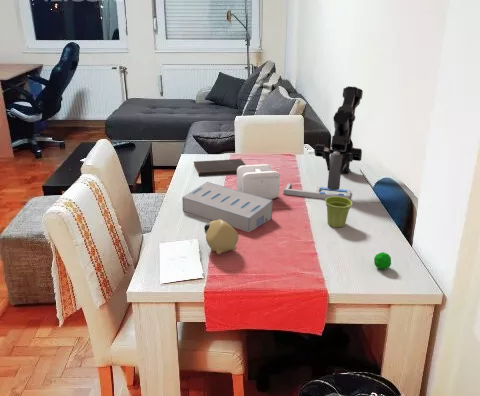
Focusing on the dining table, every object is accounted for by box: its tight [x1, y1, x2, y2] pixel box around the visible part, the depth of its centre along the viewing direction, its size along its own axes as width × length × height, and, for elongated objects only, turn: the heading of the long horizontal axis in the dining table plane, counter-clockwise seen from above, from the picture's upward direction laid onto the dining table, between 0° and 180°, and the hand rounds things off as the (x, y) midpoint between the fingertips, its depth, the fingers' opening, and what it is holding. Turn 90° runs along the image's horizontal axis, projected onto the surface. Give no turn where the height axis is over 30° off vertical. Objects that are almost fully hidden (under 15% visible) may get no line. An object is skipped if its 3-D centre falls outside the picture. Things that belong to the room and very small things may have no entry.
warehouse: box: [181, 181, 274, 233], centre depth 181 cm, size 30×14×8 cm, turn 54°
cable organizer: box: [236, 163, 281, 200], centre depth 198 cm, size 15×11×12 cm
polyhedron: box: [373, 251, 392, 270], centre depth 148 cm, size 5×5×5 cm
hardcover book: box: [193, 158, 246, 177], centre depth 230 cm, size 16×23×2 cm
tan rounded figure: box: [204, 219, 239, 255], centre depth 155 cm, size 10×12×11 cm
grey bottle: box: [326, 151, 343, 191], centre depth 200 cm, size 5×5×15 cm
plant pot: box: [324, 197, 353, 228], centre depth 175 cm, size 9×9×9 cm
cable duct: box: [283, 182, 351, 200], centre depth 204 cm, size 12×26×2 cm, turn 74°
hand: (334, 171), depth 199 cm, fingers closed on grey bottle, 5 cm apart
